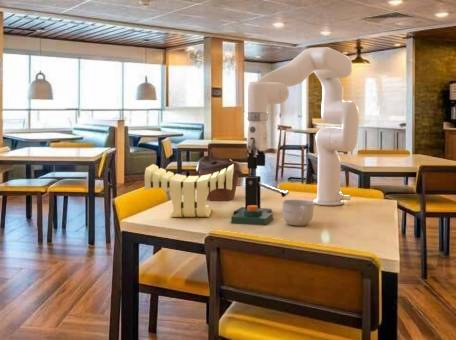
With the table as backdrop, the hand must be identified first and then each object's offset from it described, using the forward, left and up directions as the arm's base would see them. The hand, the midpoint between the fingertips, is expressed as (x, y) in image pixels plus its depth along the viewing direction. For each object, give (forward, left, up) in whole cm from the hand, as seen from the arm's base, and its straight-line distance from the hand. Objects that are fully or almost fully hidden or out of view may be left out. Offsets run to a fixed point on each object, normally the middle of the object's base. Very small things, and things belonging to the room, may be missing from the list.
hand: (256, 167), depth 187 cm
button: (+1, +1, -15) cm, 15 cm away
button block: (+1, +1, -19) cm, 19 cm away
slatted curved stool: (+26, -4, -19) cm, 32 cm away
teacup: (-16, +3, -19) cm, 25 cm away
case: (+28, -38, -19) cm, 51 cm away
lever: (-1, -12, -10) cm, 15 cm away
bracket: (+5, -12, -19) cm, 23 cm away
